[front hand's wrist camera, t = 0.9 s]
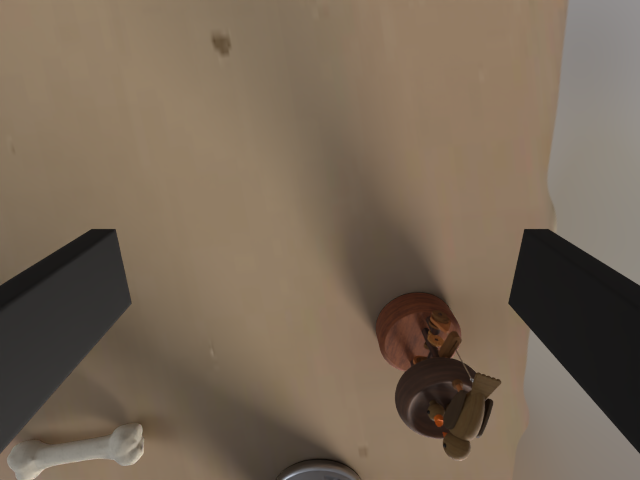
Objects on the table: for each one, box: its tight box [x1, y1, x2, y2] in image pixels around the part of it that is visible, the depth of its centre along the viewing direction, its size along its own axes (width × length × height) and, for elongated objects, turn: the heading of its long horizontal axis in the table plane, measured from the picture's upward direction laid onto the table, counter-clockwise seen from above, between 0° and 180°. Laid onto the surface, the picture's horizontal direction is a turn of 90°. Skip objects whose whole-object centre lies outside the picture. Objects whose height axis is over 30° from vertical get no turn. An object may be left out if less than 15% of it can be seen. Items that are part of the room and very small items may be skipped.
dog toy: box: [7, 423, 144, 480], centre depth 56 cm, size 20×6×5 cm, turn 103°
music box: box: [376, 293, 501, 461], centre depth 42 cm, size 15×11×20 cm
